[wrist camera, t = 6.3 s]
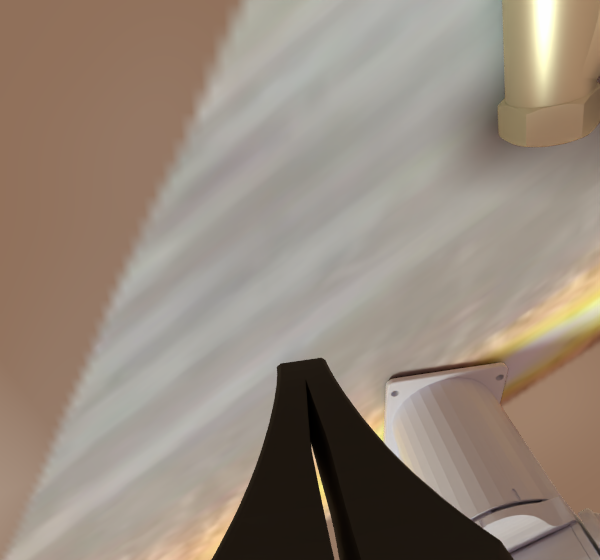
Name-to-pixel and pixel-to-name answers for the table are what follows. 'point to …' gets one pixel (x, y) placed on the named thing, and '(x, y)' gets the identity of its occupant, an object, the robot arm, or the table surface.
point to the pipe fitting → (550, 71)
